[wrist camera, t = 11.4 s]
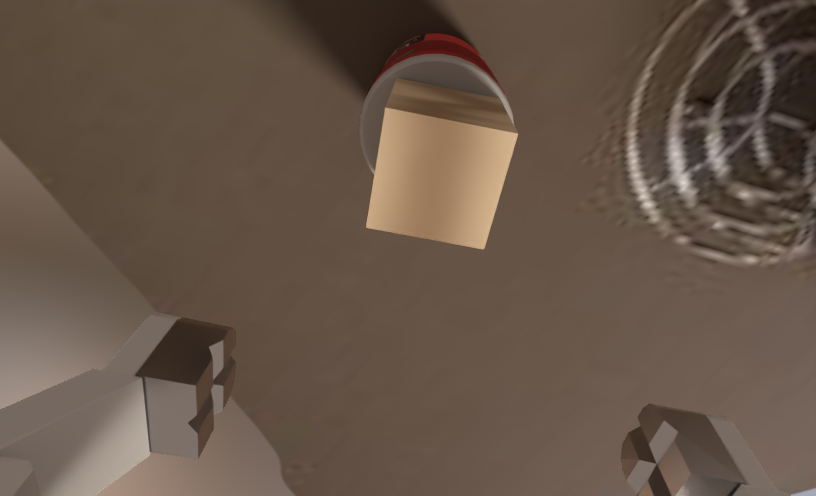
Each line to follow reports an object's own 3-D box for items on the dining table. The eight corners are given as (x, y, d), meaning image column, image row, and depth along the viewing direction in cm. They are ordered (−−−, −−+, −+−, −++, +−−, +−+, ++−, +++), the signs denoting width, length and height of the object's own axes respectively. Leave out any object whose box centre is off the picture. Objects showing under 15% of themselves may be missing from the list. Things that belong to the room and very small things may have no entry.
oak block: (500, 98, 24) (518, 133, 18) (474, 194, 26) (484, 249, 21) (396, 77, 24) (385, 107, 18) (380, 176, 26) (365, 227, 21)
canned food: (402, 11, 32) (388, 28, 22) (514, 60, 33) (546, 95, 24) (363, 122, 36) (337, 176, 26) (466, 162, 37) (477, 229, 27)
